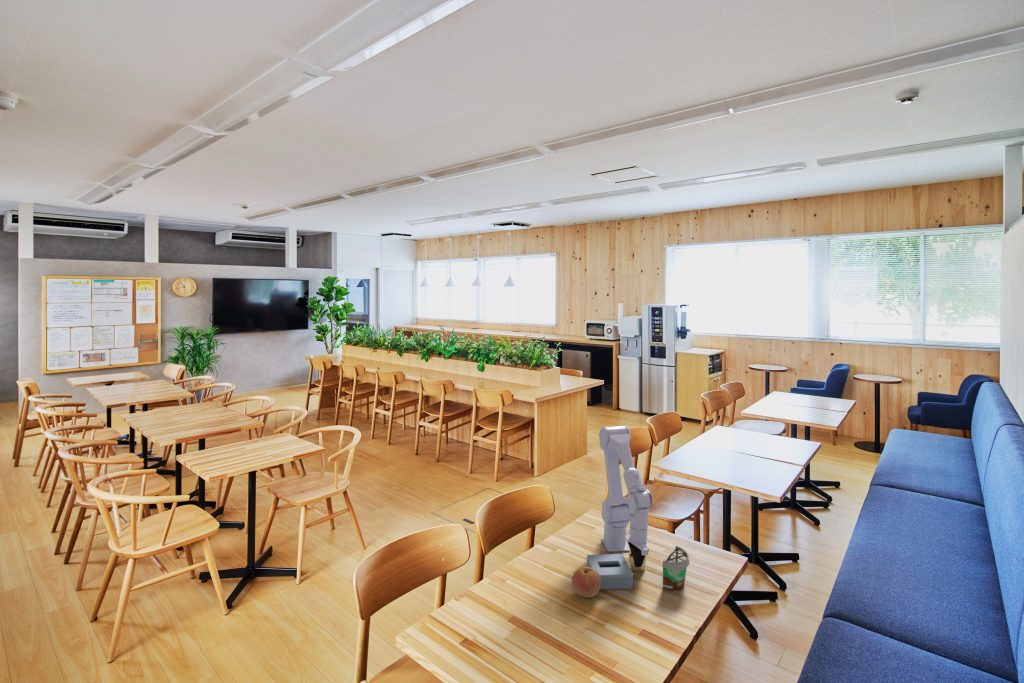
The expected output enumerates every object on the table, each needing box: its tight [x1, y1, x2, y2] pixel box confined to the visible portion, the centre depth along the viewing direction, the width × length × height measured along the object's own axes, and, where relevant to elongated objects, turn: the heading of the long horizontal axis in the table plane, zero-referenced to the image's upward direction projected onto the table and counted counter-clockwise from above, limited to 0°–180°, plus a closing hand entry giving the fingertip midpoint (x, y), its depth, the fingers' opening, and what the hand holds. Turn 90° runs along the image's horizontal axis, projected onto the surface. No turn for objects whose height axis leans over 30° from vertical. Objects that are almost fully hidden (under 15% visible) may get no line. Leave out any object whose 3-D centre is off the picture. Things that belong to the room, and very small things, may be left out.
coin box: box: [586, 553, 634, 591], centre depth 168 cm, size 12×12×5 cm
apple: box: [571, 566, 601, 599], centre depth 159 cm, size 9×9×8 cm
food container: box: [661, 545, 690, 592], centre depth 165 cm, size 12×6×10 cm, turn 143°
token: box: [628, 553, 647, 572], centre depth 174 cm, size 2×5×5 cm, turn 95°
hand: (637, 564), depth 174 cm, fingers closed on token, 2 cm apart
